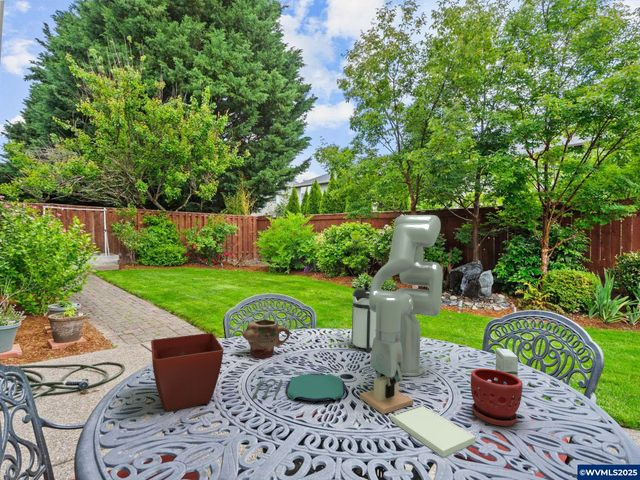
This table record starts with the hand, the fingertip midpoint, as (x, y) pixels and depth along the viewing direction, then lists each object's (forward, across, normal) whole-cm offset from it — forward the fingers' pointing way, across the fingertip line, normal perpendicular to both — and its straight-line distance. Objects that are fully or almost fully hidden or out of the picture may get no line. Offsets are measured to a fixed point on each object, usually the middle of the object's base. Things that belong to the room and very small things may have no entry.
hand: (386, 394), depth 104 cm
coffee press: (+3, -44, +27) cm, 52 cm away
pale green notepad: (+2, +18, 0) cm, 18 cm away
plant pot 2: (+3, +22, +22) cm, 31 cm away
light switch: (+2, 0, 0) cm, 2 cm away
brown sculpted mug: (+3, -56, -18) cm, 58 cm away
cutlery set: (+3, -20, -19) cm, 28 cm away
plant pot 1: (+3, -31, -54) cm, 62 cm away
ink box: (+3, +11, +46) cm, 47 cm away
